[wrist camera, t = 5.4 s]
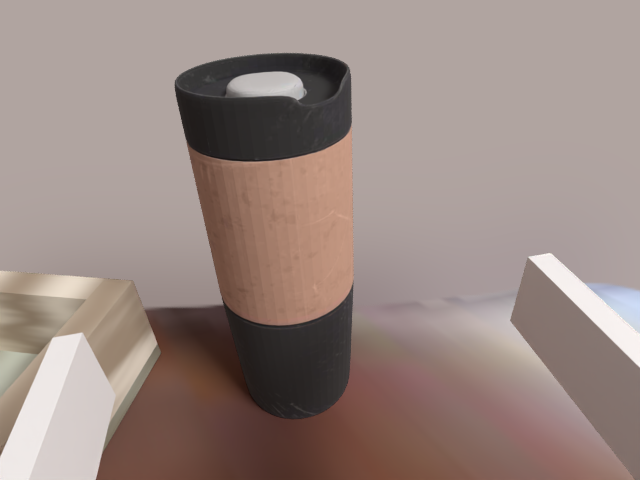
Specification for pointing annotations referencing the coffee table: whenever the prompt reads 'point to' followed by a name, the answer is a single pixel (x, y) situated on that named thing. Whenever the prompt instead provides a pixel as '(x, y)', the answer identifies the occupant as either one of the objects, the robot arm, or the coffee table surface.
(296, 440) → the coffee table surface
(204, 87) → the travel mug
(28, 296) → the well
